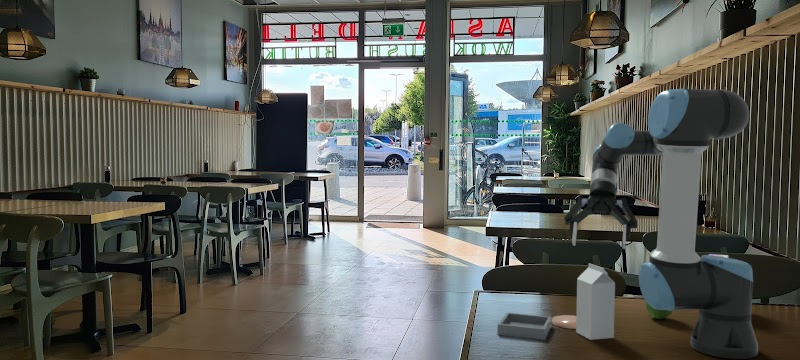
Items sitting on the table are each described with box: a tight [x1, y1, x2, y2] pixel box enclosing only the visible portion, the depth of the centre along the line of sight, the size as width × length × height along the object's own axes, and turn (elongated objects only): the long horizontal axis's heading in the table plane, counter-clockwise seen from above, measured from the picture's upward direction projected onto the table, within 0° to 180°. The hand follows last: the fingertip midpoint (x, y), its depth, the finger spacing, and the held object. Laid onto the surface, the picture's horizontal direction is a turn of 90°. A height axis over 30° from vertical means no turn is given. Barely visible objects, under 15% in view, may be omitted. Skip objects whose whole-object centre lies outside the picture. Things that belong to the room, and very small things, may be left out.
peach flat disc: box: [551, 314, 577, 330], centre depth 182 cm, size 11×11×1 cm
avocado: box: [645, 301, 674, 320], centre depth 186 cm, size 8×8×12 cm
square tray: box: [496, 312, 553, 341], centre depth 175 cm, size 13×13×3 cm
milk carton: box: [575, 263, 616, 341], centre depth 170 cm, size 7×7×19 cm
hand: (598, 244), depth 179 cm, fingers open, 13 cm apart
